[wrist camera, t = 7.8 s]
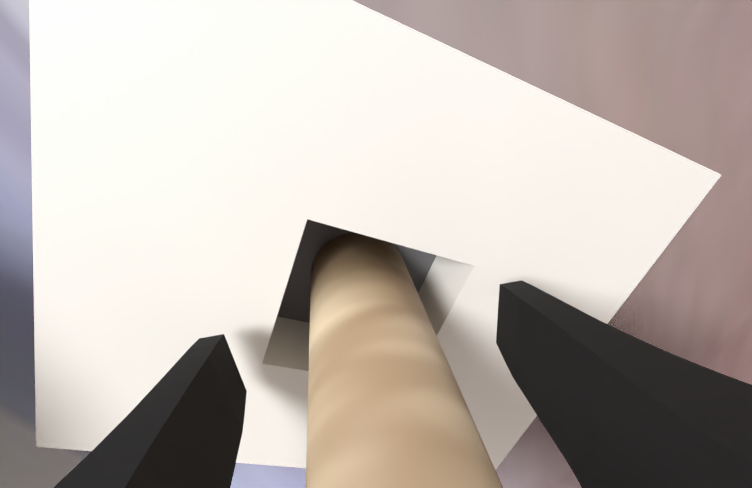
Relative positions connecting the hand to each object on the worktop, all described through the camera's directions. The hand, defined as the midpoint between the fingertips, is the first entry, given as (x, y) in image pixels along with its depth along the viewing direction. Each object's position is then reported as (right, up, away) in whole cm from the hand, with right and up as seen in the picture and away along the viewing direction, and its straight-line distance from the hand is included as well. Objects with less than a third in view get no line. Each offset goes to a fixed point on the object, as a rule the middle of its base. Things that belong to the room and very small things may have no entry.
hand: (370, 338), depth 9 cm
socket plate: (0, +1, +3) cm, 3 cm away
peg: (0, +1, +3) cm, 3 cm away
